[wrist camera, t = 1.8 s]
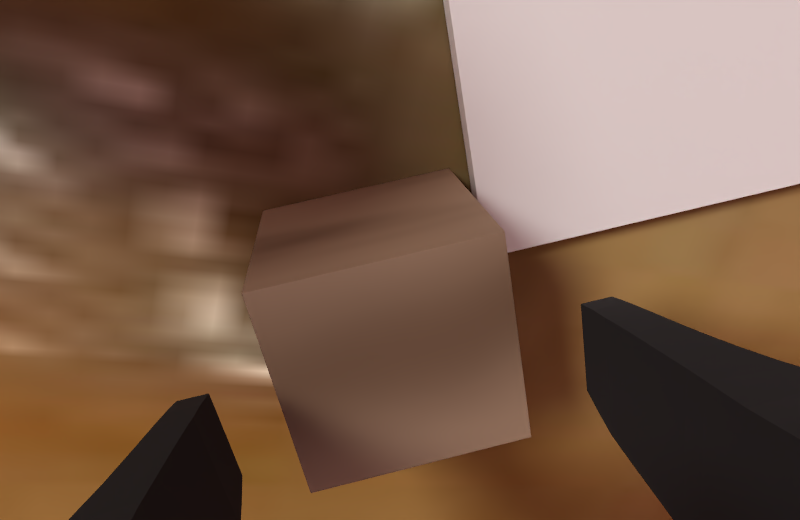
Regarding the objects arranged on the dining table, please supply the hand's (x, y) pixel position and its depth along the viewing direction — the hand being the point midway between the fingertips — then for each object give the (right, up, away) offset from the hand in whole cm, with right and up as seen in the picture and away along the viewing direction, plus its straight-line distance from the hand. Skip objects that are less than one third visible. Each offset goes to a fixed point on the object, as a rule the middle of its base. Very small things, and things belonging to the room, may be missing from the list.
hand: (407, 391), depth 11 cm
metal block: (-1, +2, +5) cm, 6 cm away
